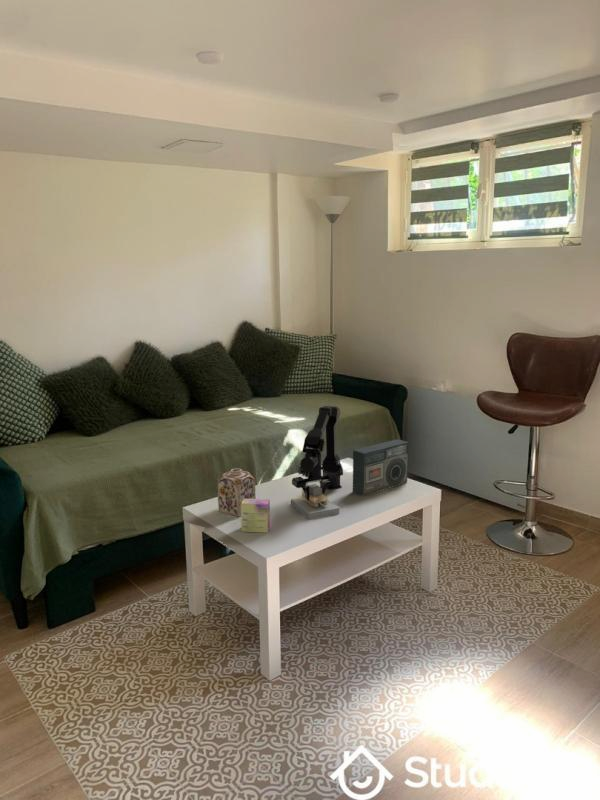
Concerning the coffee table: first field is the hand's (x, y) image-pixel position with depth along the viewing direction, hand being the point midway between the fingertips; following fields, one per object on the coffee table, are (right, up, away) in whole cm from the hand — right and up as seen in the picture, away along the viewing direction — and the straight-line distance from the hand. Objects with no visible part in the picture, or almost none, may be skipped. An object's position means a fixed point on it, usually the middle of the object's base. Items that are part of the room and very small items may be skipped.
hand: (314, 499), depth 256 cm
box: (-23, -9, -20) cm, 32 cm away
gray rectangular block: (0, +2, -1) cm, 2 cm away
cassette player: (+32, +1, +27) cm, 42 cm away
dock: (0, -4, +1) cm, 4 cm away
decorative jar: (-33, -5, 0) cm, 33 cm away
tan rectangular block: (0, -1, 0) cm, 1 cm away
